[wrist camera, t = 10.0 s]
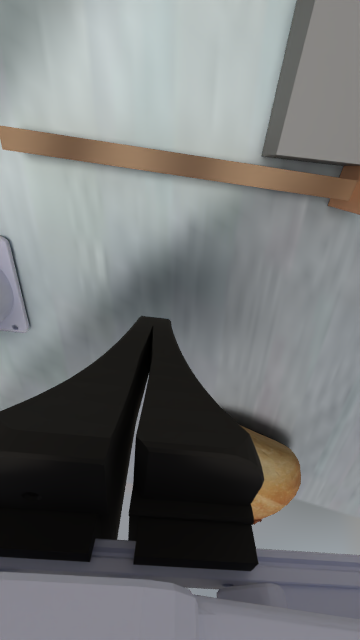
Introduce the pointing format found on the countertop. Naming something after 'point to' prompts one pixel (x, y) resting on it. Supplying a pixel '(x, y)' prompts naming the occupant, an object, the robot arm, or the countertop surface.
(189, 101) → the countertop surface
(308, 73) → the block
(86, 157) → the rail lane
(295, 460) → the bread roll
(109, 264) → the countertop surface
